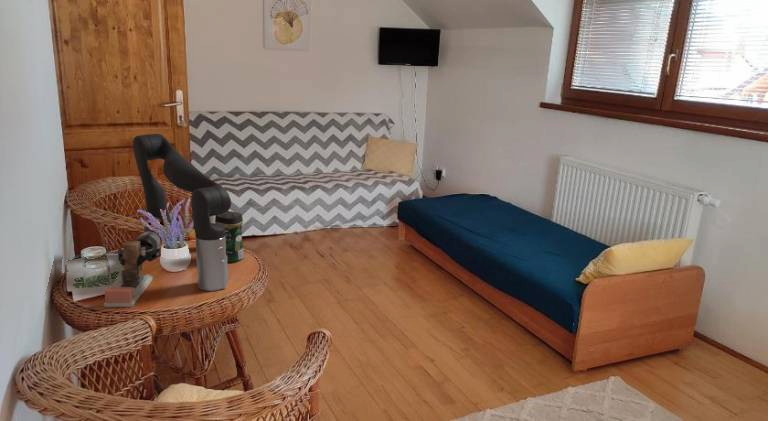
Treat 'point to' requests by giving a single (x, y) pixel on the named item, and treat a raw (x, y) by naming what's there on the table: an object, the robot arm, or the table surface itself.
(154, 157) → the robot arm
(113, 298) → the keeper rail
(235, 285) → the table surface
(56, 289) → the table surface
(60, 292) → the table surface
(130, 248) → the chain block
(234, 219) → the coffee jar
